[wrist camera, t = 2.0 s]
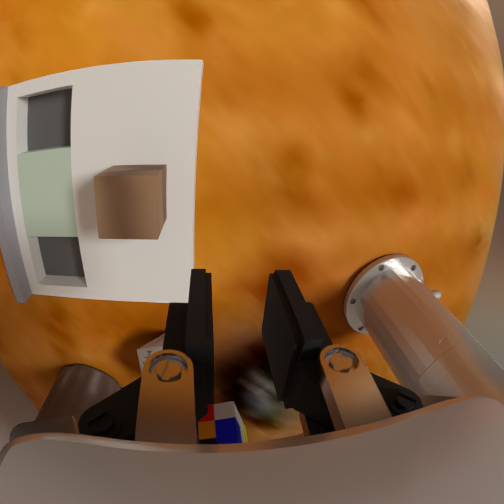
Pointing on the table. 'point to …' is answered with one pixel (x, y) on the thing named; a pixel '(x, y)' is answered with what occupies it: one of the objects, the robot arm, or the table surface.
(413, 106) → the table surface
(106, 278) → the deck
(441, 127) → the table surface
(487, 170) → the table surface
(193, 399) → the robot arm
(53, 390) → the plant pot
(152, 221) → the block
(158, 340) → the die
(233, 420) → the puzzle toy
